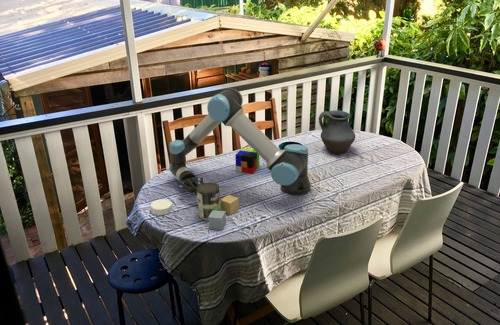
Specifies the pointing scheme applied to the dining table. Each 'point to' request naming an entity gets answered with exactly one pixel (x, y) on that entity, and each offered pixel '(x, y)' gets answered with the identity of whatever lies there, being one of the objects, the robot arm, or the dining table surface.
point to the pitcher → (336, 131)
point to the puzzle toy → (247, 161)
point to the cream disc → (161, 207)
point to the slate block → (217, 220)
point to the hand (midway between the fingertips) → (204, 196)
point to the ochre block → (229, 204)
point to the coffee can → (208, 199)
